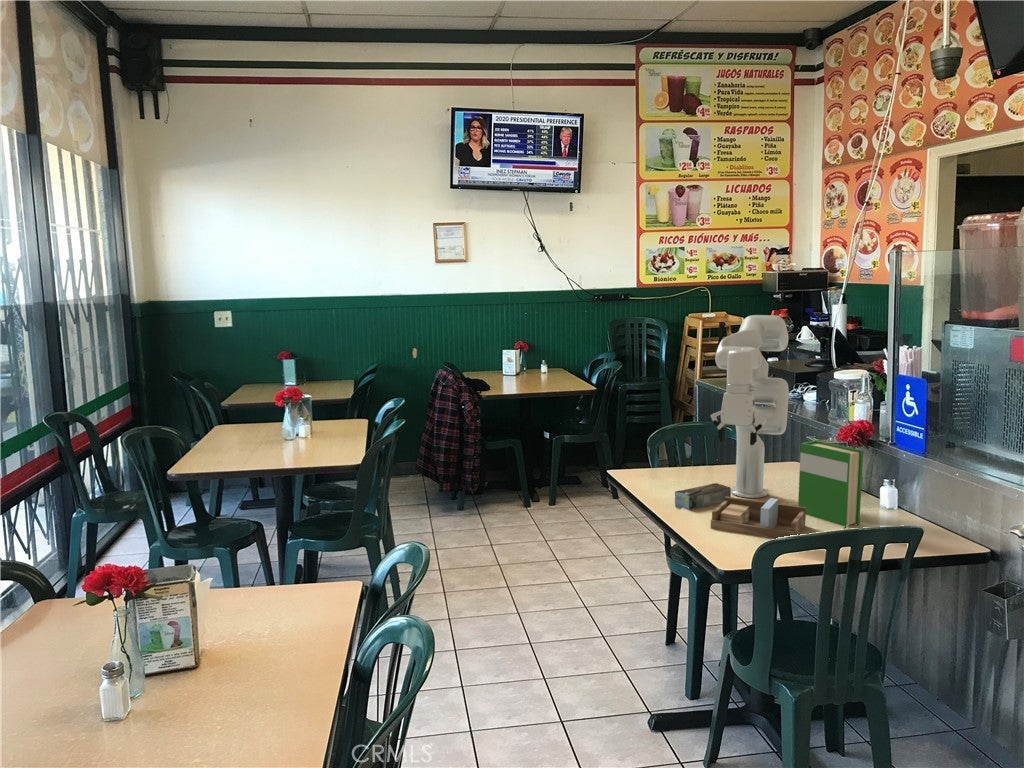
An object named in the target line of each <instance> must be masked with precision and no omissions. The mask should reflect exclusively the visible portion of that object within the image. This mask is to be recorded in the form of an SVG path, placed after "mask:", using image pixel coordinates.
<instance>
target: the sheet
mask: <svg viewBox="0 0 1024 768" xmlns="http://www.w3.org/2000/svg"><path fill="white" fill-rule="evenodd" d="M765 502H766V503H765V504H764V505H763V506H762V507H761V517H760V527H767V528H774V527H775V526H776V525H777V521H778V503H779V498H772V497H770V498H769V499H768V500H767V501H765Z"/></svg>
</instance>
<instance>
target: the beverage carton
mask: <svg viewBox="0 0 1024 768" xmlns="http://www.w3.org/2000/svg"><path fill="white" fill-rule="evenodd" d="M726 496H727V497H732V493H731V486H726V485H724V484H720V483H717V482H716V483H711V484H706V485H701V486H697V487H692V488H691V487H690V488H686V489H681V490H676V491H674V508H675V507H676V509H678V508H679V509H678V510H682V509H683V508H684V509H685V510H688V511H691V510H695V509H700V508H706V507H707V508H708V507H712V506H716V505H717V506H718V505H720V504H721V503H722V502H723V501H725V497H726Z"/></svg>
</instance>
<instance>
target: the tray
mask: <svg viewBox="0 0 1024 768" xmlns="http://www.w3.org/2000/svg"><path fill="white" fill-rule="evenodd" d="M766 502H767V501H761V500H755V499H750V498H749V499H746V498H743V497H740V498H739V497H735V496H734V497H733V496H731V497H727V496H726V497H725V501H723V502H722V503H721V504H718V505H717V506H716V507H715V508H714V509H713V510H712V512H711V519H710V529H713V530H719V531H720V530H721V531H725V532H731V533H732V532H733V533H738V534H744V535H745V534H747V535H752V536H756V537H764V538H771V539H776V538H778V537H784V536H790V535H797V534H799V535H800V534H801V532H802V531H803V529H804V528H805V527H806V516H807V515H806V507H801V506H798V505H793V504H787V503H786V504H785V503H779V502H778V521H777V525H776V526H775V527H774V528H767V527H760V517H761V507H762V506H763V505H764V504H765V503H766ZM730 504H736V505H743V506H750V507H749V521H748V522H747V523H746V524H740V523H734V522H727V521H720V519H721V512H722V511H723V510H724V509H726V508H727V507H728V506H729V505H730Z"/></svg>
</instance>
